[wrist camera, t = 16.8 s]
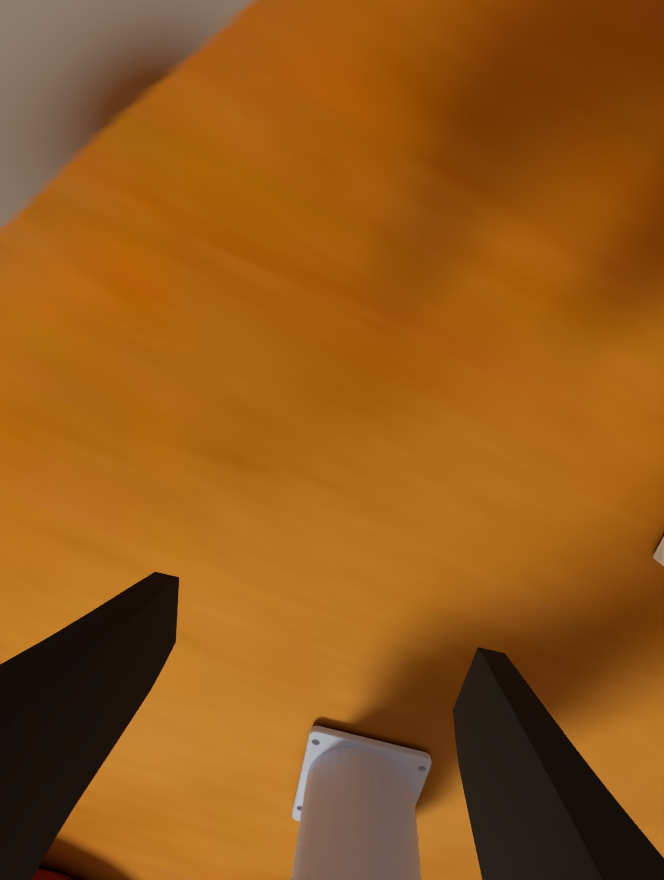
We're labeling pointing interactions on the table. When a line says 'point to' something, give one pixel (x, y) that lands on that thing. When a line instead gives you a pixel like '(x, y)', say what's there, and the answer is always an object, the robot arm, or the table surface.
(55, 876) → the dish
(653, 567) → the table surface
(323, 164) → the table surface
